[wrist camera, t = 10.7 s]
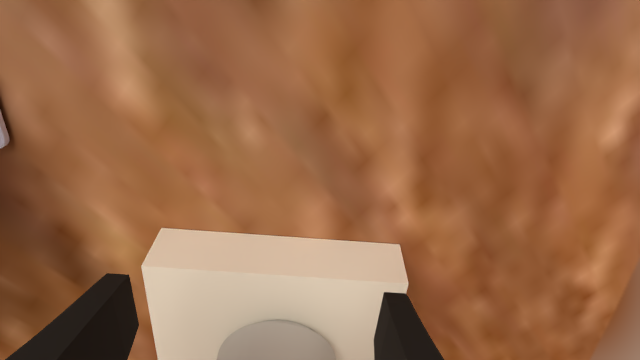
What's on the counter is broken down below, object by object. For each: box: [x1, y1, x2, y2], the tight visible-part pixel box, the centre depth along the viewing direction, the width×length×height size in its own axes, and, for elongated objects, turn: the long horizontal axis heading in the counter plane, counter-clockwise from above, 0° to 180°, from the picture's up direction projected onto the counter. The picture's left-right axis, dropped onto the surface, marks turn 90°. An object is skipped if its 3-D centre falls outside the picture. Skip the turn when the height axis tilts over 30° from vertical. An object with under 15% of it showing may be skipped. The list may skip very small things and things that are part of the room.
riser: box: [141, 228, 409, 360], centre depth 26 cm, size 13×13×3 cm
